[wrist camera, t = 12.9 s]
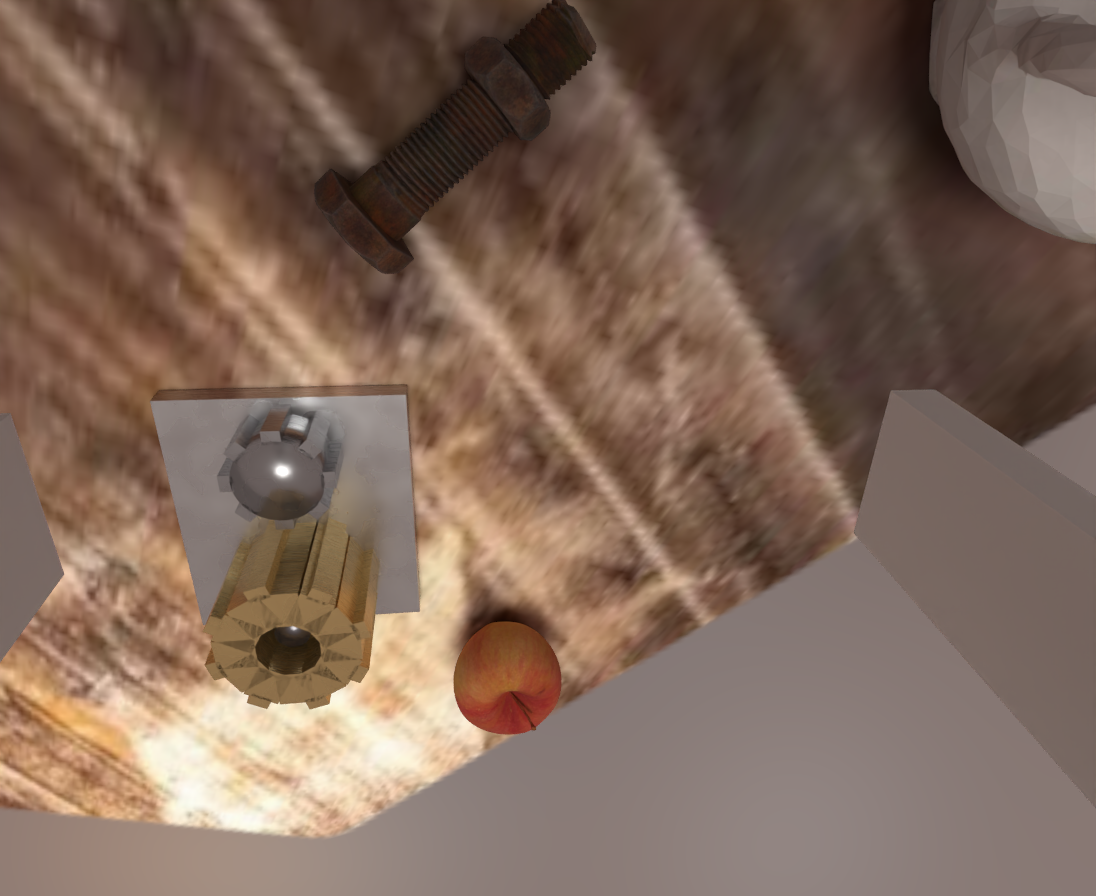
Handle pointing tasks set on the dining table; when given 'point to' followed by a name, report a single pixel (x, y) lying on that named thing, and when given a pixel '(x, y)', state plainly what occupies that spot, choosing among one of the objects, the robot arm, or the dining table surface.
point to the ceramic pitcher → (1022, 105)
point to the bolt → (458, 135)
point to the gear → (295, 614)
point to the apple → (507, 678)
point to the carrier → (291, 477)
